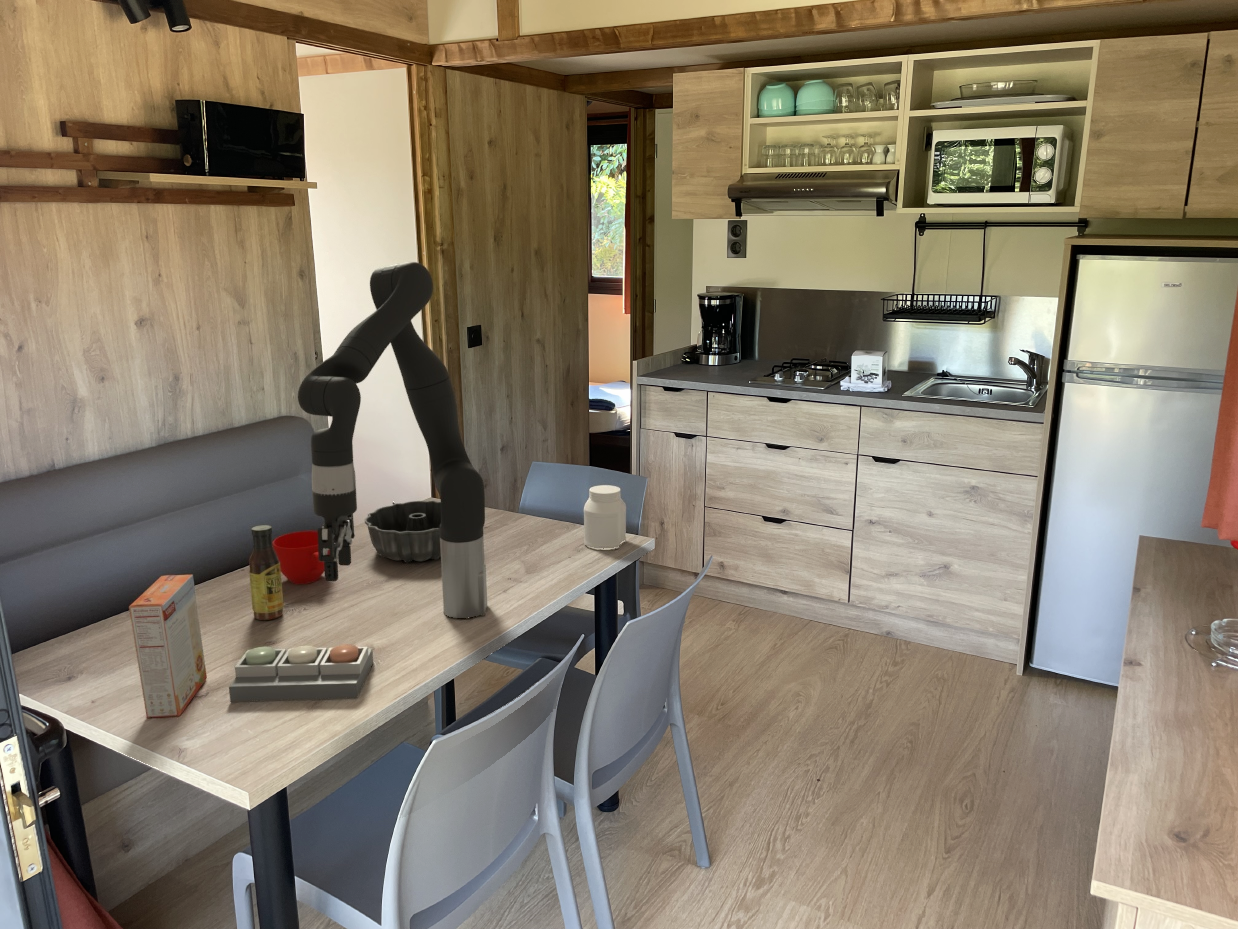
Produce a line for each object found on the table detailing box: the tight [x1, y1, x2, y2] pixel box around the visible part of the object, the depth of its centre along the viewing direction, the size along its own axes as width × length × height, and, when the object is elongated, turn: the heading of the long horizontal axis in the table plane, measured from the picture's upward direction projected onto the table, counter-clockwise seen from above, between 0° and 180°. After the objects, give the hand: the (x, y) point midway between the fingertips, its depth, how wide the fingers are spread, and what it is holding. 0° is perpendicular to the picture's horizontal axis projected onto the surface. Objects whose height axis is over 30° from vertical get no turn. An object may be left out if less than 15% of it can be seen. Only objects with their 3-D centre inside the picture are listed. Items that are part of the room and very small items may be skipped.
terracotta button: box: [330, 644, 359, 663], centre depth 168 cm, size 5×5×2 cm
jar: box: [583, 484, 627, 549], centre depth 241 cm, size 12×10×15 cm
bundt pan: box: [364, 499, 441, 563], centre depth 236 cm, size 26×26×10 cm
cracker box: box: [128, 574, 207, 719], centre depth 160 cm, size 14×6×21 cm, turn 5°
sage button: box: [245, 646, 276, 665], centre depth 167 cm, size 5×5×2 cm
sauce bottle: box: [248, 524, 284, 621], centre depth 195 cm, size 7×6×20 cm
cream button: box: [288, 645, 317, 664], centre depth 167 cm, size 5×5×2 cm
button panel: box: [228, 646, 374, 703], centre depth 168 cm, size 22×14×5 cm, turn 93°
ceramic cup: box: [272, 530, 330, 585], centre depth 216 cm, size 13×17×10 cm
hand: (338, 572), depth 168 cm, fingers open, 8 cm apart
